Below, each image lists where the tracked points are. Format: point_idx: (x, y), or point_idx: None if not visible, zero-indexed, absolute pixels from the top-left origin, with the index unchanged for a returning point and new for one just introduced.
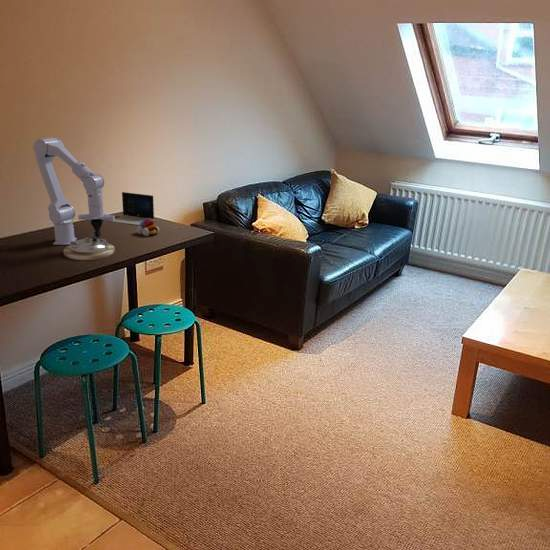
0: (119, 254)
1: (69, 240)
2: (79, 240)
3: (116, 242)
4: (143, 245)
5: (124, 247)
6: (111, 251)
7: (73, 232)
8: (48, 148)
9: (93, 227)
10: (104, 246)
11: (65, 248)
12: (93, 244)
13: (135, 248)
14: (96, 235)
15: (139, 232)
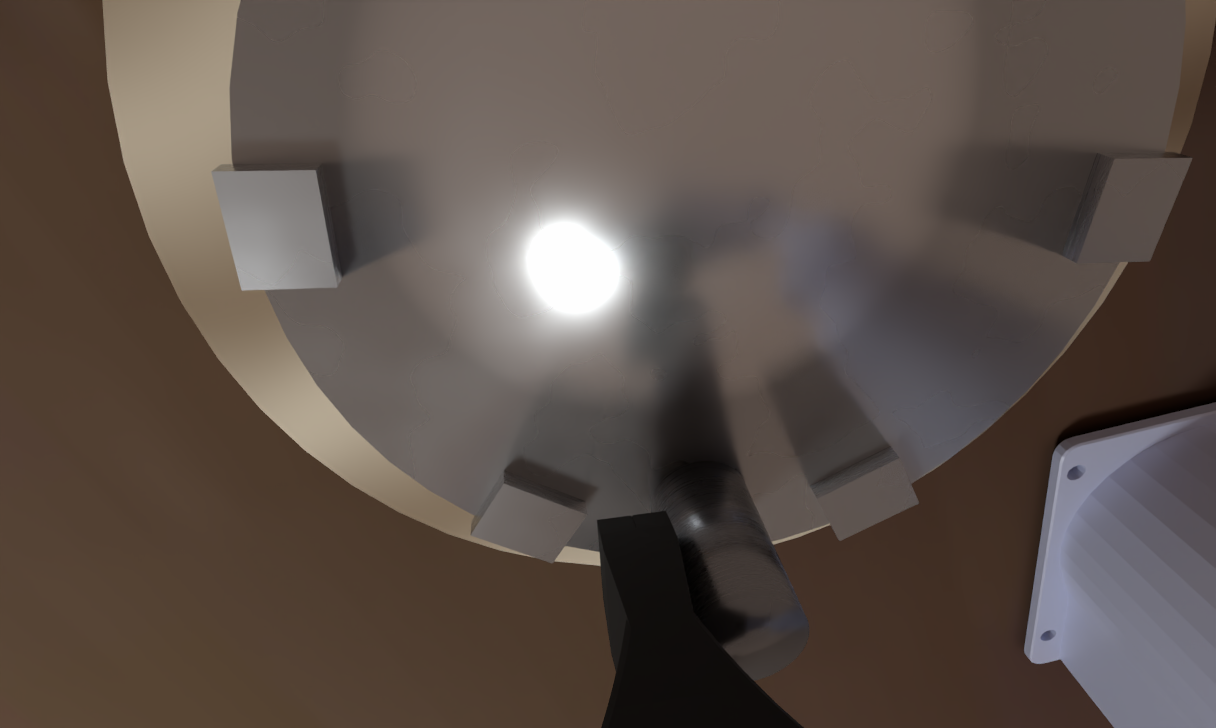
0: (28, 181)
1: (1131, 502)
2: (989, 384)
3: (475, 682)
4: (10, 691)
5: (227, 549)
6: (118, 114)
7: (1123, 708)
8: None
9: (777, 705)
10: (231, 97)
11: (1183, 86)
12: (602, 192)
13: (14, 556)
14: (655, 537)
15: None
